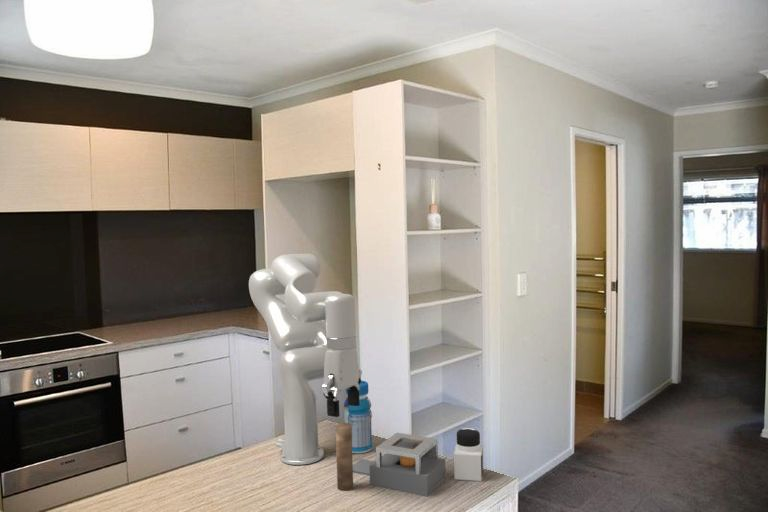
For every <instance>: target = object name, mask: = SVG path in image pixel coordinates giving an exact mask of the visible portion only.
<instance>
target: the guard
mask: <svg viewBox="0 0 768 512" xmlns="http://www.w3.org/2000/svg"><path fill="white" fill-rule="evenodd" d="M405 447H410V448H414V449H409V448H405ZM382 453H383V454H386V453H388V454H394V455H399V456H405V457H411V458H415V463H416V474H417V475H420V474H421V457H428V458H434V459H437V458H439V440H438V438H434V437H429V436H428V437H427V436H423V435H422V436H420V435H414V434H409V433H403V432H401V433H400V432H396V433H394V434H393V435H391V436H390V437H389V438H387V439H386V440H384V441H383V442H382V443H380V444H378V445H377V446H376V447H375V456H376V457H375V459H376V460H375V461H376V467H381V466H382V456H383V455H382Z"/></svg>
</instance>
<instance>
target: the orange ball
mask: <svg viewBox="0 0 768 512" xmlns="http://www.w3.org/2000/svg"><path fill="white" fill-rule="evenodd" d="M405 448H409V449H414V448H410V447H405ZM400 465H401V466H406V467H411V468H413V467H414V466H416V463H415V458H411V457H405V456H400Z"/></svg>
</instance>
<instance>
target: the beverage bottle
mask: <svg viewBox="0 0 768 512" xmlns="http://www.w3.org/2000/svg"><path fill="white" fill-rule="evenodd" d="M348 389H349V388H347V389H345V394H346V396H347V397H346V399H345V401H344V403H343V408H344V412H343V419H344V423H349V424H351V425H352V454H355V455H356V454H357V455H358V454H365V453H368V452H370V451H371V450H372V449H373V437H372V435H373V434H372V418H373V412H372V410H371V408H372V402H371V400H370V398H369V397H368V395H369V382H368V381H366V380H361V382H360V390H359V403H360V405H359V406H352V405H348ZM349 390H350V389H349Z"/></svg>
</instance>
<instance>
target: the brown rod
mask: <svg viewBox="0 0 768 512" xmlns="http://www.w3.org/2000/svg"><path fill="white" fill-rule="evenodd" d="M335 439H336V440H335V441H336V443H335V445H336V446H335V447H336V449H335V450H336V451H335V452H336V483H337V485H336V486H337V490H339V491H341V492H348V491H351V490H353V488H354V472H353V465H354V462H353V453H352V425H351V424H349V423H345V422H341V423H336V424H335Z"/></svg>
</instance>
